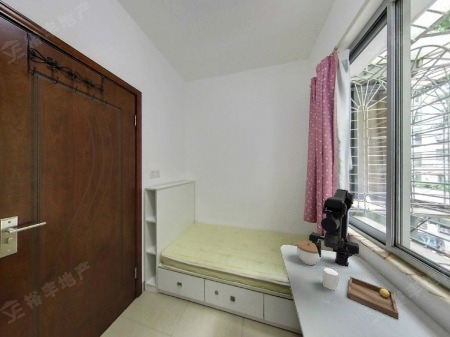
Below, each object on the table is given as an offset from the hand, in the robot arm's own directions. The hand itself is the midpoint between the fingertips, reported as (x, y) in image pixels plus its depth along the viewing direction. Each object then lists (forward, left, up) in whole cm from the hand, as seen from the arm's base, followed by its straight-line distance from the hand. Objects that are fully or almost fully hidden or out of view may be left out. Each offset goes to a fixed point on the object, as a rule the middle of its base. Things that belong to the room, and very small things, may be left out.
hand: (331, 260), depth 76 cm
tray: (-4, +14, -12) cm, 19 cm away
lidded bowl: (-16, -13, -12) cm, 24 cm away
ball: (-8, +18, -11) cm, 23 cm away
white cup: (0, 0, -12) cm, 12 cm away
